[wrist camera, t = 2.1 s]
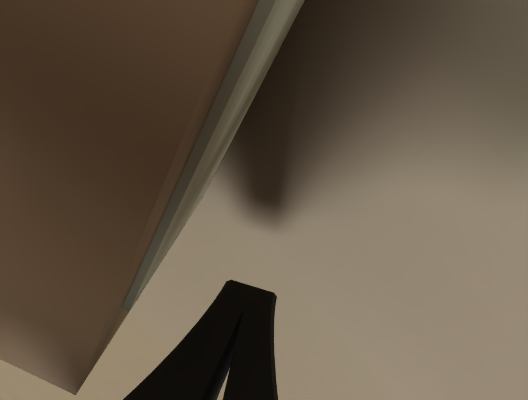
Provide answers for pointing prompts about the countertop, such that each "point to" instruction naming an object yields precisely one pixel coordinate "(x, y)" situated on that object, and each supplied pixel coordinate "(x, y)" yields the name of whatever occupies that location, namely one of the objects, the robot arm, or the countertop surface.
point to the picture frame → (110, 155)
